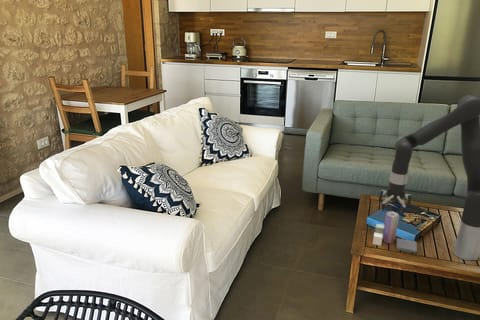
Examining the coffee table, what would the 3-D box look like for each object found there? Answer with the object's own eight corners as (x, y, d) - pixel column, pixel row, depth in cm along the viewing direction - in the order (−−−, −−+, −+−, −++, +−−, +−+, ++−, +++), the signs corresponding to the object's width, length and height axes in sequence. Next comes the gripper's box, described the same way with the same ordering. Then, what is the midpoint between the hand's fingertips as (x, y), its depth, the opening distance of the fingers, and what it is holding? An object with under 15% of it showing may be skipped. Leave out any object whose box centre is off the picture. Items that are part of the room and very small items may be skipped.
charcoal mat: (416, 243, 192) (416, 241, 191) (416, 253, 184) (417, 251, 183) (396, 240, 195) (396, 238, 194) (396, 249, 187) (396, 247, 186)
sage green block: (383, 232, 202) (384, 225, 200) (383, 236, 198) (384, 228, 197) (375, 231, 203) (376, 223, 202) (374, 234, 200) (375, 227, 198)
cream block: (381, 241, 193) (382, 233, 192) (381, 245, 190) (382, 237, 188) (373, 240, 194) (374, 232, 193) (372, 244, 191) (373, 236, 189)
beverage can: (381, 241, 193) (385, 214, 188) (383, 236, 198) (387, 210, 193) (393, 245, 190) (398, 217, 185) (395, 239, 195) (400, 212, 190)
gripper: (413, 180, 184) (408, 211, 190) (382, 175, 189) (377, 205, 195) (414, 186, 178) (408, 217, 183) (381, 181, 183) (376, 212, 188)
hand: (392, 211), depth 189 cm, fingers open, 8 cm apart
